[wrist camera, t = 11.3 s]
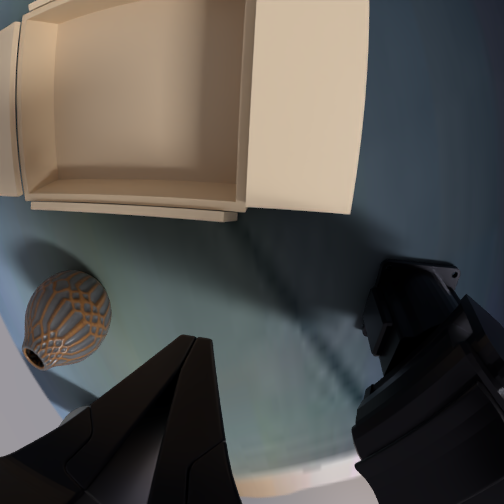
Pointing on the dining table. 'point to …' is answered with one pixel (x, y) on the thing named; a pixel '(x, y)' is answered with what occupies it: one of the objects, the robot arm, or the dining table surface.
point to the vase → (65, 320)
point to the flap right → (307, 104)
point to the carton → (136, 106)
